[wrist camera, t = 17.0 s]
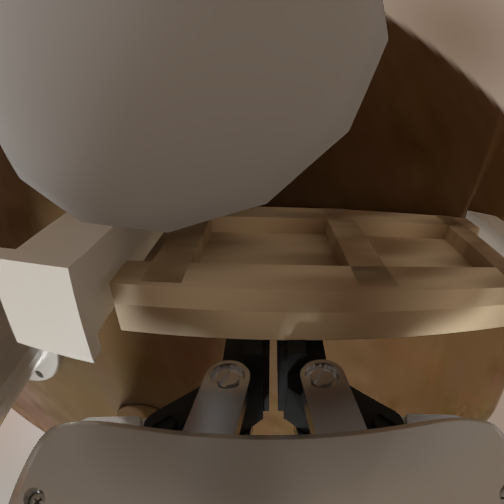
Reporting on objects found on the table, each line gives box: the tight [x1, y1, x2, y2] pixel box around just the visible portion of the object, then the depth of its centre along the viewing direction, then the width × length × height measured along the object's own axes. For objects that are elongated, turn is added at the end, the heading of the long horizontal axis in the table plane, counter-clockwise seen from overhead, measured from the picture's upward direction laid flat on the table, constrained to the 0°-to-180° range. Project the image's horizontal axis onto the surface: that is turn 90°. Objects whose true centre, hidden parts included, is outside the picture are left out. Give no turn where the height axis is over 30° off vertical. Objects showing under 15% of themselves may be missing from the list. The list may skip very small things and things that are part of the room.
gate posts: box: [0, 210, 504, 363], centre depth 11 cm, size 22×4×10 cm, turn 86°
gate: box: [109, 207, 504, 340], centre depth 12 cm, size 15×2×7 cm, turn 90°
